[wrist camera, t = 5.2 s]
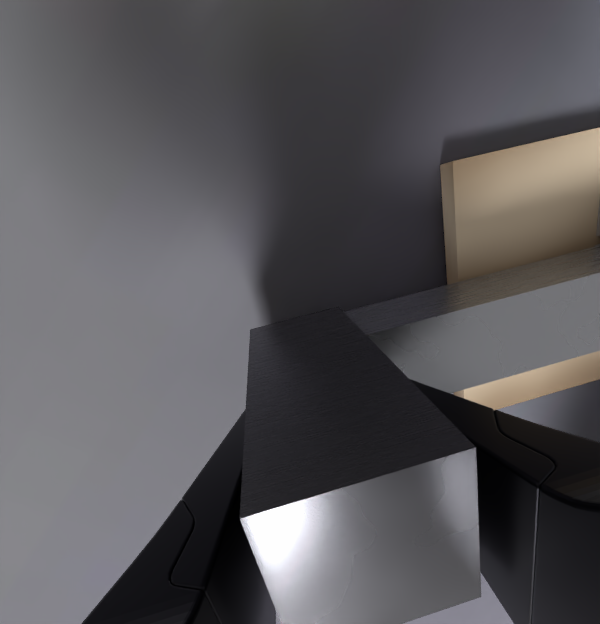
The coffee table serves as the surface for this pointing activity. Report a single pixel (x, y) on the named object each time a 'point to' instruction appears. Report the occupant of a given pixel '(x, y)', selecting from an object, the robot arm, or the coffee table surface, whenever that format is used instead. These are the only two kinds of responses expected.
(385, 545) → the grey metal bar
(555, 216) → the rail
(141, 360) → the coffee table surface
